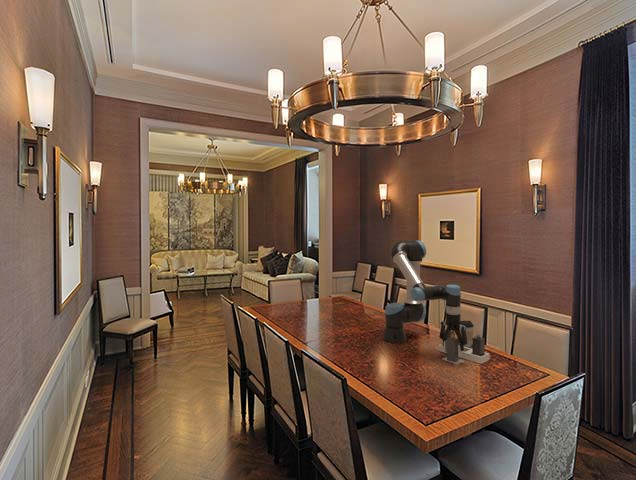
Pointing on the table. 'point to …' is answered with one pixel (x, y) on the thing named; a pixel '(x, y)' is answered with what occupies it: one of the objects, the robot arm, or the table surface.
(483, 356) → the strip
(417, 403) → the table surface
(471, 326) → the coffee cup
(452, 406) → the table surface
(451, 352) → the plug
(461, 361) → the mat
